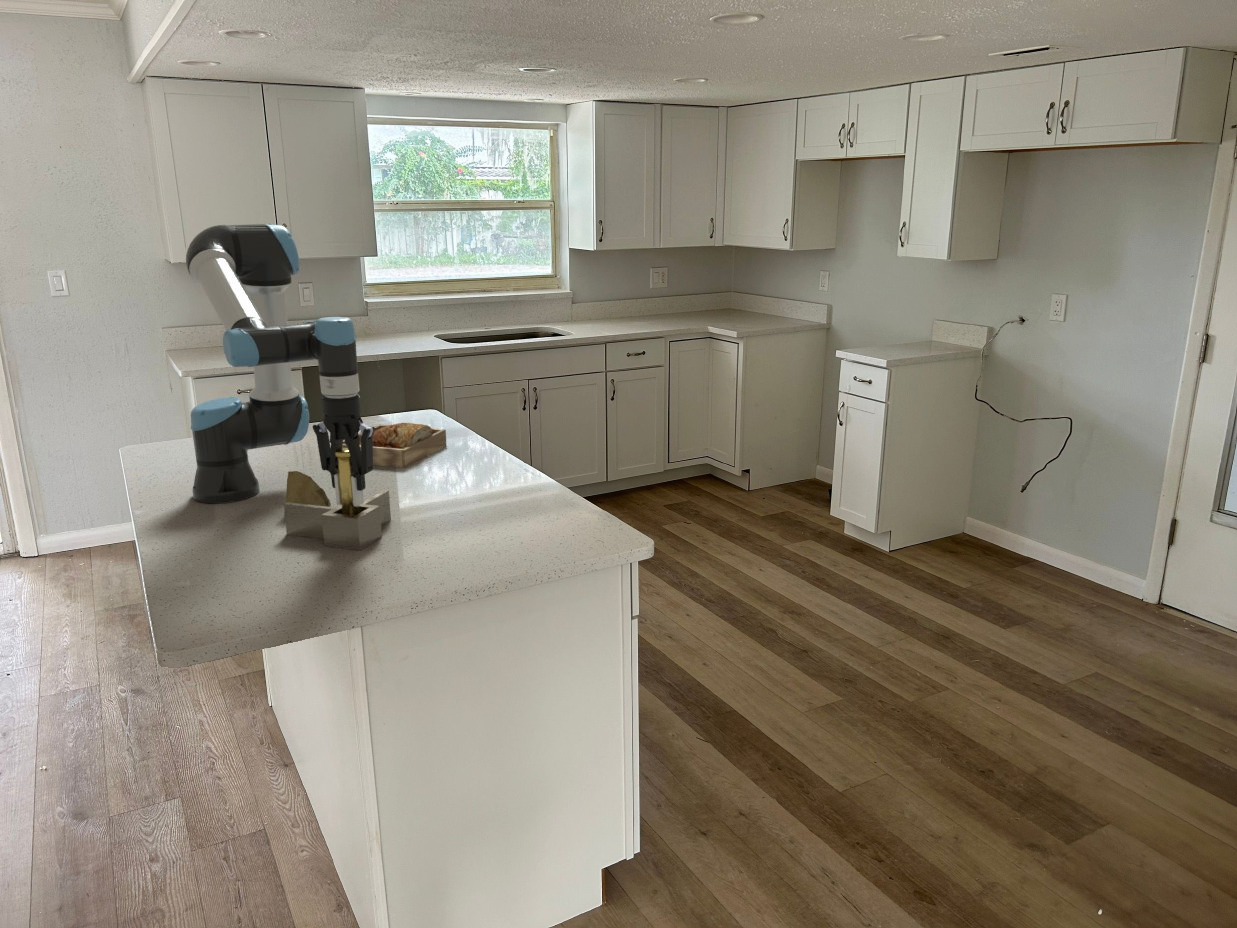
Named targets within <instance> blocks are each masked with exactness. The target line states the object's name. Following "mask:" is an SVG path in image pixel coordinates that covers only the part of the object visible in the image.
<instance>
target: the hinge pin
mask: <svg viewBox="0 0 1237 928" xmlns="http://www.w3.org/2000/svg"><path fill="white" fill-rule="evenodd" d="M335 457H337V459H338V470H339V481H340V492H341V503H342V513H343V515H352V516H356V515H357V514H359V506H357V507H355V506H354V505H353V494H352V483H351V476H352V475H353V474H354V471H353V467H352V463H351V459H350V453H349V450H348V448H342V449H340V450H338V451H335Z"/></svg>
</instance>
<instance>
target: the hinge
mask: <svg viewBox="0 0 1237 928" xmlns="http://www.w3.org/2000/svg"><path fill="white" fill-rule="evenodd" d="M390 502H391V500H390V490H387V489H383V490H381V491H379V492H378V493H376V494H374V495H373V496H371V497H369V498H367V499H365V500H364V503H362V504H361V505H359V514H357V515H356V516H352V515H343V513H342V504H341V505H337V506H336V507H333V506H329V507H326V506H316V505H307V504H298V503H289V502H287V503H286V502H285V503H283V512H284V518H285V519H284V520H285V531H286V535H290V536H297V537H298V536H299V537H305V538H313V539H314V538H315V539H323V542H324V547H327V548H337V549H343V550H344V549H345V550H351V551H362V550H364V549H365V548H366V547H368V546H370V545H371V544H373V543H375V542H376V541H378V540H379V539H380V538H382V537H383V533H382V526H383V525H385V524H386V523H388V522H389V521H392V517H391V503H390Z"/></svg>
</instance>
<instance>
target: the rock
mask: <svg viewBox="0 0 1237 928" xmlns="http://www.w3.org/2000/svg"><path fill="white" fill-rule="evenodd" d="M287 502H289V503H298V504H307V505H316V506H326V507H332V505H331V501H330V499H329V497H328V495H327V493H326V491H325V490H324V489H323V488H322V487H320V486H319V484H318V483H317V482H316V481H315V480H314V479H313V478H312V477H311V476H309V475H308V474H305V473H302V472H301V471H298V470H293V471H291V470H289V471H287V480H286V495H285V503H287Z"/></svg>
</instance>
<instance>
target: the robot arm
mask: <svg viewBox="0 0 1237 928" xmlns="http://www.w3.org/2000/svg"><path fill="white" fill-rule="evenodd" d="M185 263H186V264H185V265H186V268H187V272H188V274H189V275H190V277H191V278H192V280H193V282H194V283H195V284H197V285H198V286H200V287H202V289H203V291H204V292H205V294H206V295H205V296H207V299H208V300H209V302H210V304H211V305H212V307H213V310H214V311H215V313H216V314H217V316H218V319H219V320H220V322H221V323H222V326H223V328H224V329H225V331H224V333H223V334H222V335H223V336H222V346H223V347H222V348H223V351H224V355H225V358H226V359H225V360H226V361H227V363H228V364H229V365H230V367H231V366H232V367H234V368H239V367H240V368H241V367H243V368H244V367H247V368H253V374H254V375H253V377H254V387H253V389H252V390H251V391H250V392H249V401H248V402H243V401H242V400H241V398H239V397H235V396H233V397H232V396H231V397H221V398H215V399H212V400H208V401H205V402H202V403H199V404H198V405H196V406H194V407H193V408H192V410H191V411H190V430H191V432H192V439H193V445H194V446H193V447H194V453H195V460H196V470H195V471H196V472H195V475H194V481H193V486H192V497H193V500H195V501H196V502H200V503H202V504H204V503H205V504H223V503H224V504H225V503H232V502H238V501H242V500H246V499H248V498H251V497H253V496H255V495H257V494H259V492H260V483H259V480H258V479H257V478H256V475H255V473H254V471H253V468H252V465H251V463H250V462H249V461H250V460H249V456H248V454H249V453H248V451H249V450H256V449H262V448H267V447H268V448H269V447H274V446H282V445H285V446H287V445H289V444H294V443H298V442H301V441H302V440H303V439H304V438H305V437H306V435H307V434H308V430H309V426H310V412H309V411H310V410H309V406H308V402H307V400H306V398H305V396H302V395H300V391H299V390H298V389H297V388H296V387H295V386H293V377H292V366H291V365H292V364H291V363H296V362H307V361H315V360H317V365H318V373H319V383H320V384H319V385H320V392H321V393H320V394H322V395H323V396H322V397H321V407H322V413H323V415H324V418H323V420H322V421H319V422H318V423H314V424H313V425H312V430H313V432H314V433H315V436H316V442H317V448H318V453H319V454H318V455H319V461H320V467H321V469H322V471H324V472H325V471H326V472H328V473H330V477H331V486H332V489H335V498H336V499H335V500H336V505H337V506H339V505H341V504H342V503H341V492H340V481H339V470H338V459H337V457H335V451H338V450H340V449H342V445H343V440H345V444H346V445H347V446H348V450H349V453H350V459H351V463H352V467H353V471H354V474H353V475H352V476H351V483H352V494H353V505H354V506H355V507H357V506H359V505H361V504H362V503H364V501H365V500H364V490H366V477H365V476H366V475H367V474H368V473H370V472H372V471H373V470H374V465H373V434H374V431H375V428H374V427H375V426H373V425H372V426H368V425H367V424H365V423H364V420H363V419H362V417H361V413H362V403H361V396H360V394H359V392H360V381H359V380H360V379H359V371H358V367H359V366H358V356H357V355H358V354H357V341H356V339H357V335H356V332H355V331H356V330H355V325H354V324H355V323H354V321H353V320H352V319H351V318H349V317H345V316H343V317H342V316H328V317H320V318H317V319H316V320H311V321H309V320H308V321H305V322H303V323H301V324H289V323H288V321H289V320H288V310H287V308H288V307H287V296H286V293H287V292H286V290H287V289H288V288H290V286H291V285H292V276H295V275H297V274H298V273H299V271H300V257H299V252H298V248H297V244H296V242H295V239H294V238H293V235H292V233H291V232H290V231H289V229H288V228H287V227H285V226H284V225H280V224H269V223H261V224H260V223H256V224H230V225H228V224H218V225H213V226H210V227H208V228H205V229H203V230H202V231H200V232H198V234H197V235H195V237H194V238H193V239H192V240H191V242H190V243H189V245H188V248H187V251H186V255H185ZM359 433H360V435H362V437H361V449H360V445H359V440H360V439H359Z"/></svg>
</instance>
